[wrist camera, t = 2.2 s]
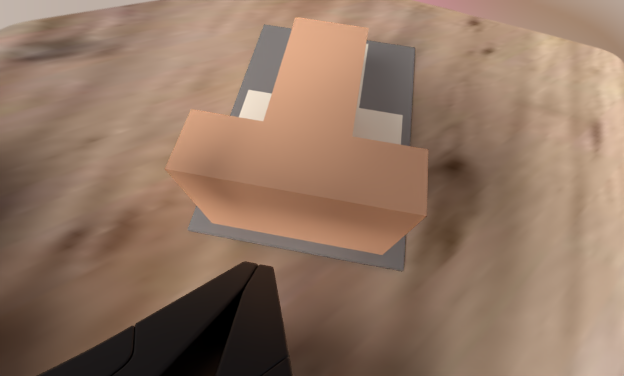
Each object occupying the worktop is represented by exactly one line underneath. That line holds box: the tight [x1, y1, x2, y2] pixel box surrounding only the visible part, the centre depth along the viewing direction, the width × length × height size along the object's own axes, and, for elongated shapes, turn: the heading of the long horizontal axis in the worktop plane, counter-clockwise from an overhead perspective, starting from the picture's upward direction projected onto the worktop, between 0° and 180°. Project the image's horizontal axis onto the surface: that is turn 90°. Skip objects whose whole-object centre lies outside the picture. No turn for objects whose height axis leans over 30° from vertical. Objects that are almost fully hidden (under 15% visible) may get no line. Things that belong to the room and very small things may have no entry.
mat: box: [188, 25, 415, 271], centre depth 25 cm, size 22×15×1 cm
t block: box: [165, 17, 428, 255], centre depth 19 cm, size 12×12×8 cm
